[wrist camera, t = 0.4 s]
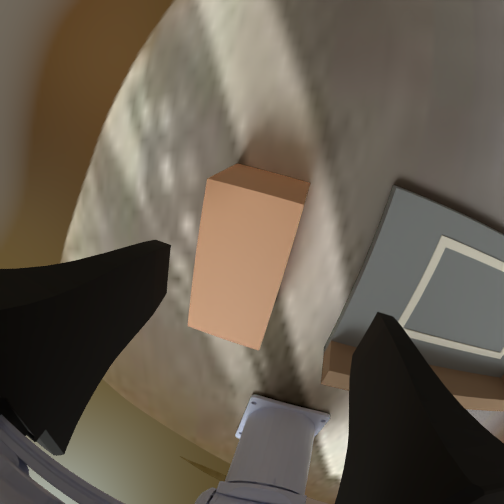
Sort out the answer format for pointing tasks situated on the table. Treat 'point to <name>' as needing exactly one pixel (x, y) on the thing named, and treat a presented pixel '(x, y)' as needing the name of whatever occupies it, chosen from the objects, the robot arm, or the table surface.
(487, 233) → the arena
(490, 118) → the table surface
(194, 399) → the table surface
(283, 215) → the terracotta block
